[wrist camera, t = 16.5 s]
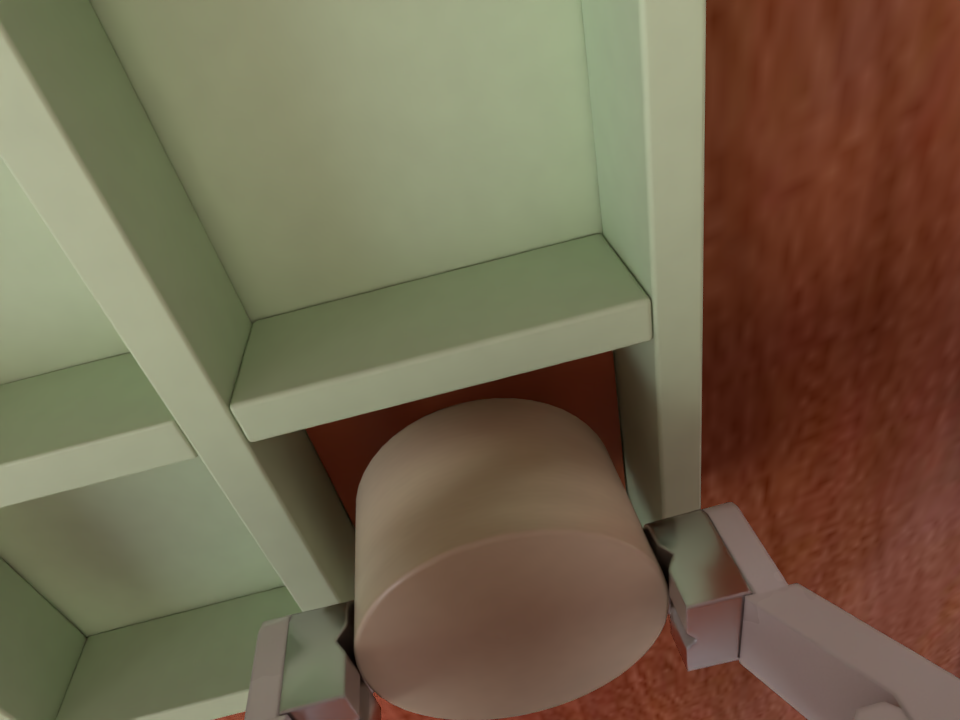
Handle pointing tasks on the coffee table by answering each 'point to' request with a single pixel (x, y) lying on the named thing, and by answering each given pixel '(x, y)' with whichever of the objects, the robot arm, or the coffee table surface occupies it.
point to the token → (499, 564)
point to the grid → (312, 298)
